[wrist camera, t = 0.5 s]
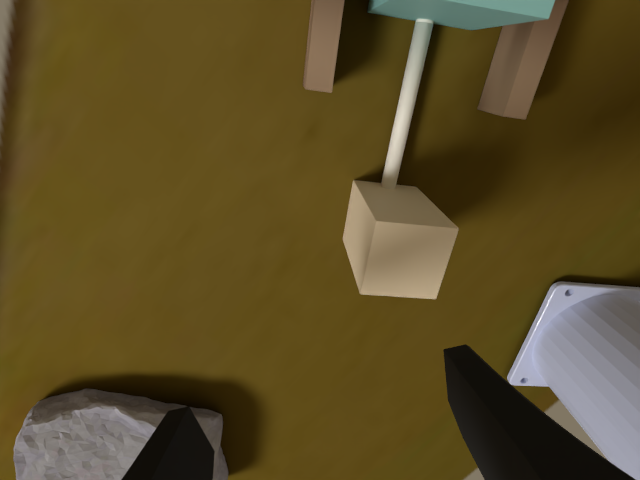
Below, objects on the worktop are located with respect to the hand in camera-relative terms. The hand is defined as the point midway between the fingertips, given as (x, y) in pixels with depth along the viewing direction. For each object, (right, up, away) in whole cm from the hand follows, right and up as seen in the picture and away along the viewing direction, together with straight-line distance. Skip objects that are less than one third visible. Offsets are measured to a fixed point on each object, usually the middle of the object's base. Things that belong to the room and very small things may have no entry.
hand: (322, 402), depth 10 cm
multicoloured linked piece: (+4, +11, +6) cm, 13 cm away
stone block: (-12, -8, +15) cm, 21 cm away
